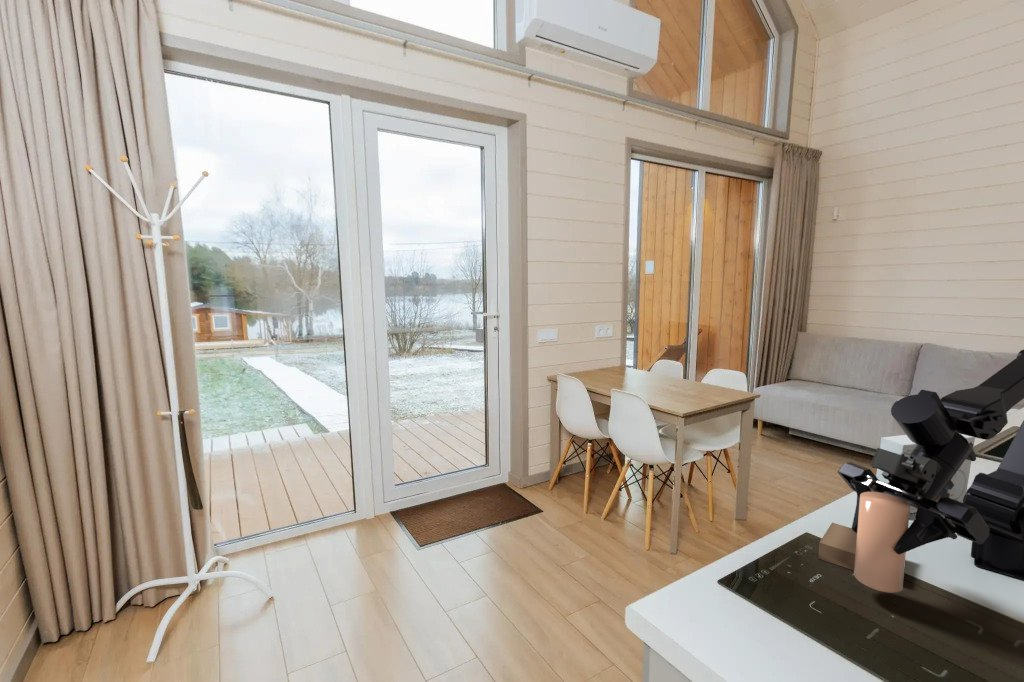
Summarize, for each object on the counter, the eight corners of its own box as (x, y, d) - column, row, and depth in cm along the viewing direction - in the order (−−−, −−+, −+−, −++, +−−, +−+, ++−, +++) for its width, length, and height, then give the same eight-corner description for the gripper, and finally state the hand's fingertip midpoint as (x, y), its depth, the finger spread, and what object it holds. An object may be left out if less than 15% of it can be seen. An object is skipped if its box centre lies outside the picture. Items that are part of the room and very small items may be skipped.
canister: (904, 579, 74) (912, 499, 72) (900, 598, 70) (907, 513, 68) (857, 564, 78) (863, 488, 77) (850, 580, 74) (856, 500, 72)
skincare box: (896, 518, 99) (903, 444, 97) (871, 506, 104) (877, 436, 103) (968, 505, 105) (976, 435, 103) (940, 495, 110) (947, 428, 108)
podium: (897, 557, 85) (898, 541, 84) (889, 582, 78) (891, 565, 77) (830, 537, 92) (832, 522, 91) (818, 558, 85) (819, 542, 84)
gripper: (849, 415, 81) (794, 486, 79) (984, 451, 63) (917, 543, 62) (880, 455, 84) (828, 523, 82) (1017, 500, 67) (954, 588, 65)
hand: (874, 541), depth 73 cm, fingers closed on canister, 6 cm apart
